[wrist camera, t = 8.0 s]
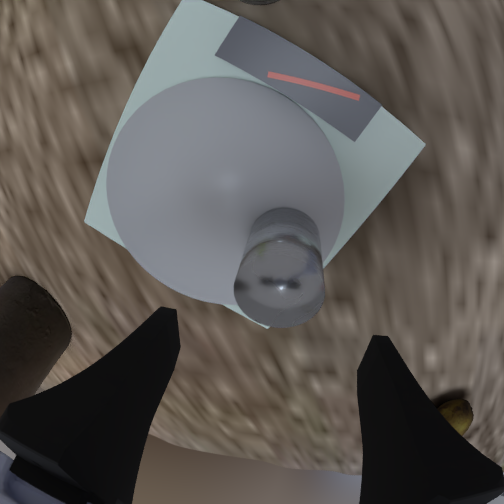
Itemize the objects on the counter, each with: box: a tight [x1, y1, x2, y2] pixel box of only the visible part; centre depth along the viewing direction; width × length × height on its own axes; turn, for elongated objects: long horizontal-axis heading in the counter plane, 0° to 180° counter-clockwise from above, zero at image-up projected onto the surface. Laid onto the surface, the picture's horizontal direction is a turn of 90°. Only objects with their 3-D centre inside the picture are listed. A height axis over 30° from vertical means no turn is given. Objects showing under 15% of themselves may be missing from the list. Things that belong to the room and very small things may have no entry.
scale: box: [84, 0, 426, 329], centre depth 18 cm, size 16×15×2 cm
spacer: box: [234, 207, 325, 328], centre depth 16 cm, size 4×4×5 cm
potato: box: [438, 399, 473, 436], centre depth 26 cm, size 8×13×8 cm, turn 125°
